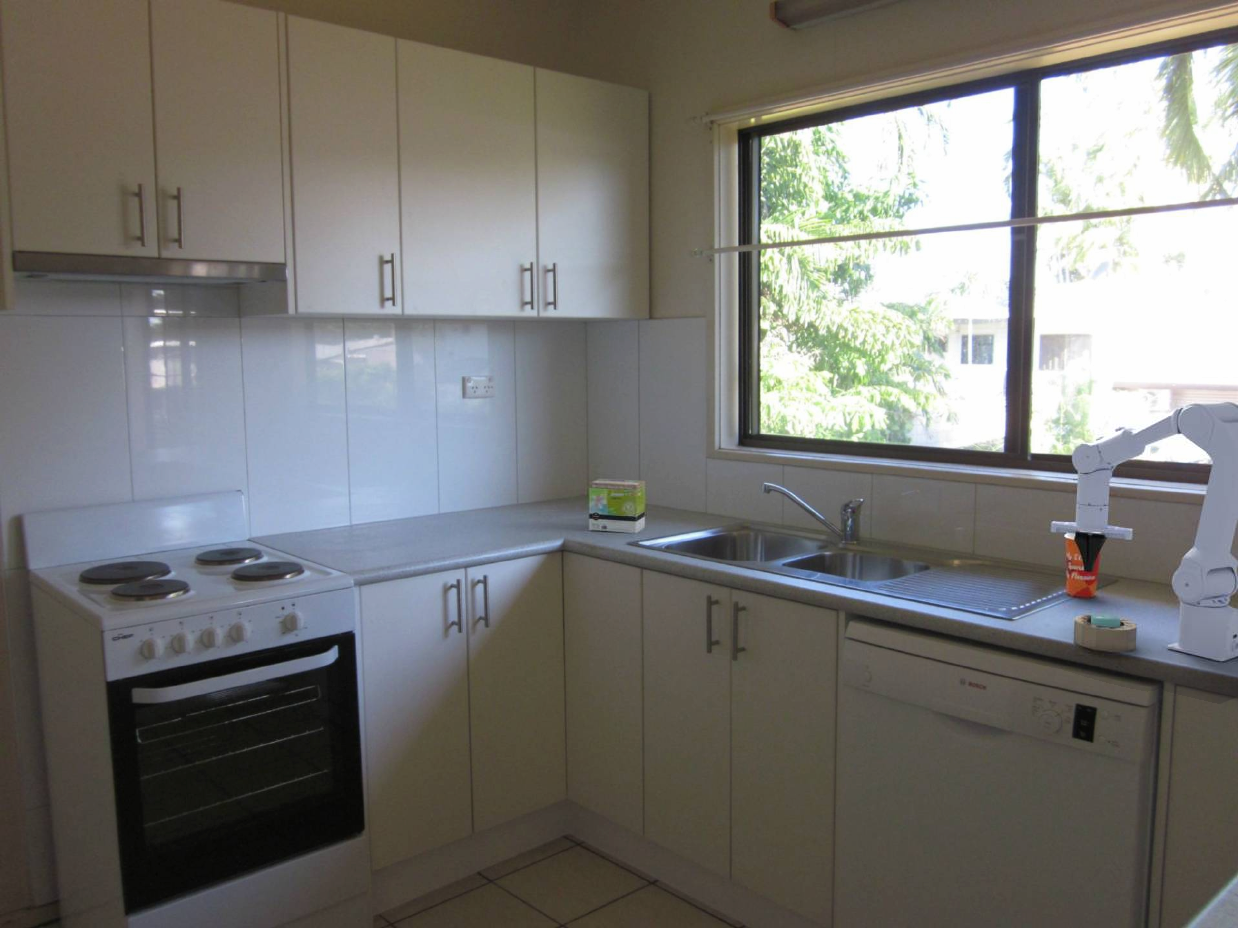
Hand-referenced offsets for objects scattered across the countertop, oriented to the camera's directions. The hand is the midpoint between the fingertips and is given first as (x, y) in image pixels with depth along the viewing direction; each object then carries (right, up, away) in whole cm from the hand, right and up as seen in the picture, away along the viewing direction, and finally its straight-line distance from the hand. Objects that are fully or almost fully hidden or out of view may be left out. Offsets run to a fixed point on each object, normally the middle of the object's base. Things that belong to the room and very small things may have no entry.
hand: (1088, 571), depth 196 cm
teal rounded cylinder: (-5, -12, -16) cm, 21 cm away
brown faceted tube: (-5, -11, -16) cm, 21 cm away
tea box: (-94, +1, +99) cm, 137 cm away
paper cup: (+7, -7, +19) cm, 22 cm away
